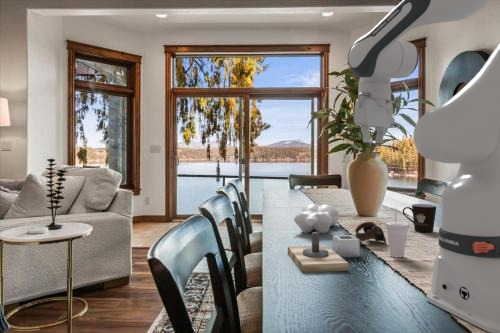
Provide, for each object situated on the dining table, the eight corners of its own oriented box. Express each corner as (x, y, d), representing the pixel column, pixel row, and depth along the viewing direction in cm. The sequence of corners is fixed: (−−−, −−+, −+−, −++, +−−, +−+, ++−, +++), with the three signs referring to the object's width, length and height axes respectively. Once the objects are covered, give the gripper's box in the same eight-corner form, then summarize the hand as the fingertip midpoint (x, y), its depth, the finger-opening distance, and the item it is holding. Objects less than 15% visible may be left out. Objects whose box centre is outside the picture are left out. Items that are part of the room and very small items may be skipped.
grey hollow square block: (359, 256, 107) (359, 239, 107) (339, 257, 106) (339, 240, 106) (351, 251, 113) (351, 235, 113) (332, 251, 112) (332, 235, 112)
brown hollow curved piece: (392, 248, 118) (382, 227, 116) (364, 259, 120) (354, 239, 118) (381, 231, 130) (372, 212, 128) (356, 241, 132) (347, 223, 130)
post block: (348, 270, 94) (348, 239, 94) (302, 272, 93) (302, 241, 93) (326, 251, 112) (326, 226, 112) (287, 253, 111) (287, 227, 111)
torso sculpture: (302, 227, 161) (288, 234, 132) (303, 203, 161) (288, 204, 133) (339, 229, 156) (332, 237, 127) (339, 204, 156) (332, 206, 128)
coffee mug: (441, 232, 139) (441, 206, 139) (424, 234, 136) (424, 207, 135) (417, 226, 150) (417, 202, 149) (400, 228, 147) (401, 203, 146)
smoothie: (380, 254, 109) (380, 207, 109) (397, 252, 111) (398, 206, 111) (396, 260, 103) (396, 210, 103) (413, 258, 105) (414, 209, 105)
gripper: (371, 89, 96) (370, 142, 97) (396, 97, 112) (395, 142, 113) (348, 91, 100) (347, 142, 101) (376, 99, 116) (375, 143, 117)
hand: (373, 142), depth 107 cm, fingers open, 8 cm apart
